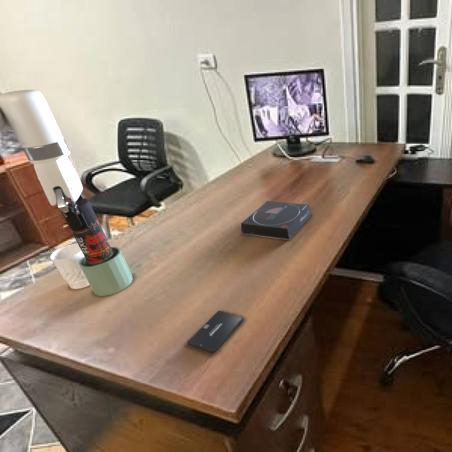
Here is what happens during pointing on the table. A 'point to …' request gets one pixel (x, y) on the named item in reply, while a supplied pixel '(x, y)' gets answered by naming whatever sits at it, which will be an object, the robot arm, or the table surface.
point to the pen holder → (107, 274)
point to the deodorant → (91, 235)
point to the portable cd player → (276, 220)
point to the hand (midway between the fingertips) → (83, 222)
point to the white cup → (70, 265)
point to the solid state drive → (215, 332)
